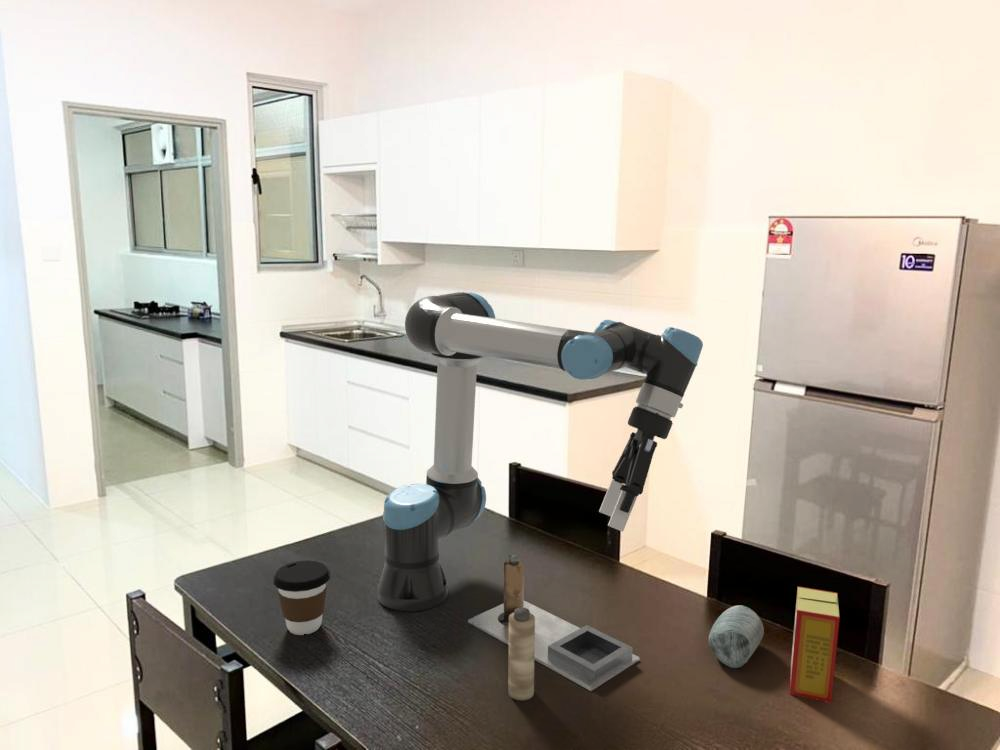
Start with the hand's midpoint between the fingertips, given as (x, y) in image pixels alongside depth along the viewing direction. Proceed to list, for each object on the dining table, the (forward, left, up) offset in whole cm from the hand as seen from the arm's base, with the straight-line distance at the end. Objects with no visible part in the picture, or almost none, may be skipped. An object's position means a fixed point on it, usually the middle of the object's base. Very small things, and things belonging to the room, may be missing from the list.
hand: (610, 521), depth 138 cm
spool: (+17, +18, -27) cm, 36 cm away
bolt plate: (-10, -4, -26) cm, 29 cm away
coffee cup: (-47, -36, -27) cm, 65 cm away
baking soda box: (+31, +19, -27) cm, 45 cm away
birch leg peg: (-2, -20, -26) cm, 33 cm away
